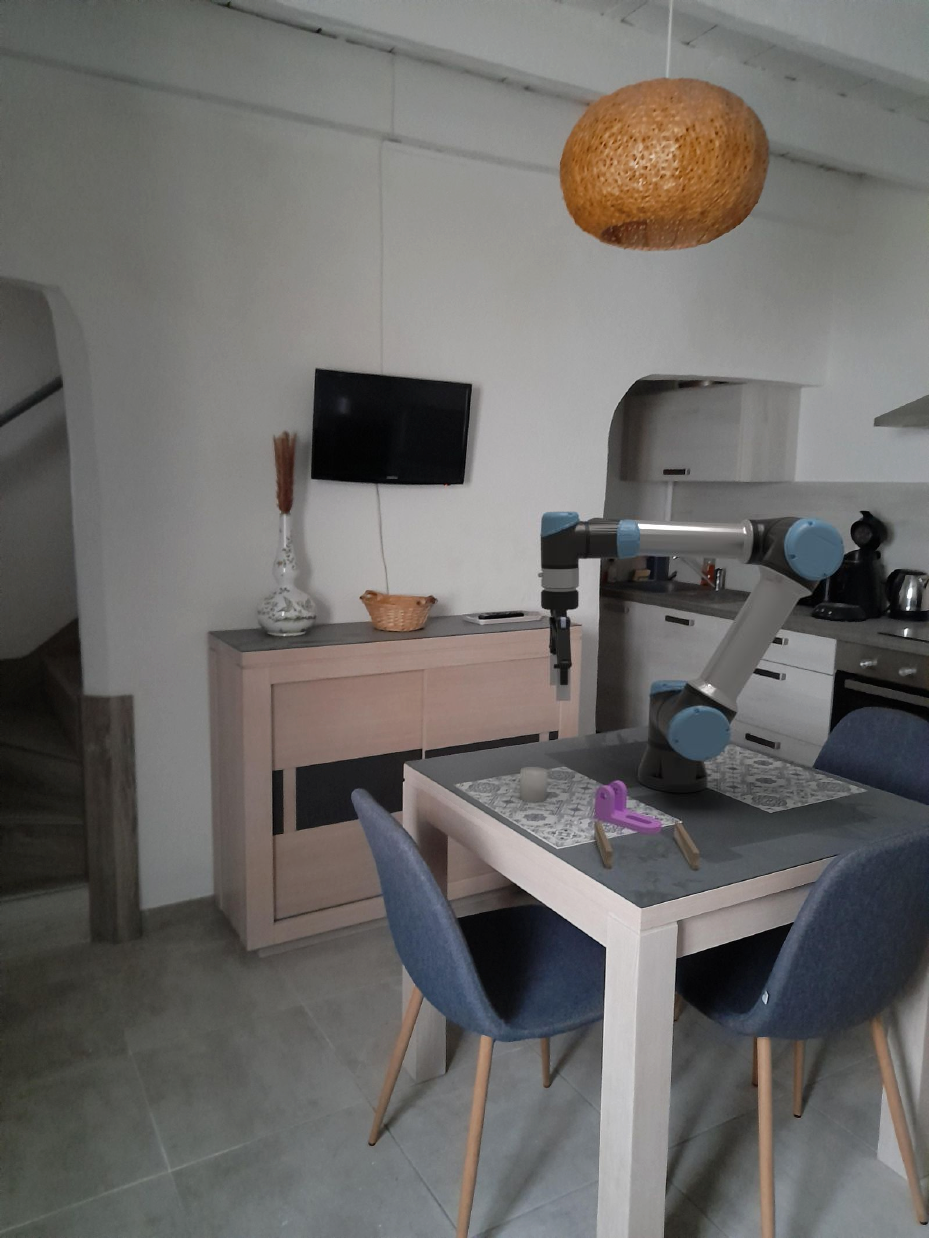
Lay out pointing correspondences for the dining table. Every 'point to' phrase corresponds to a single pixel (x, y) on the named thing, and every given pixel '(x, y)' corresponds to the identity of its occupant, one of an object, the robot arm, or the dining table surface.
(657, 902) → the dining table surface
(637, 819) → the bracket
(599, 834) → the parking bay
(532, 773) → the white pillar candle
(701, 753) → the robot arm
